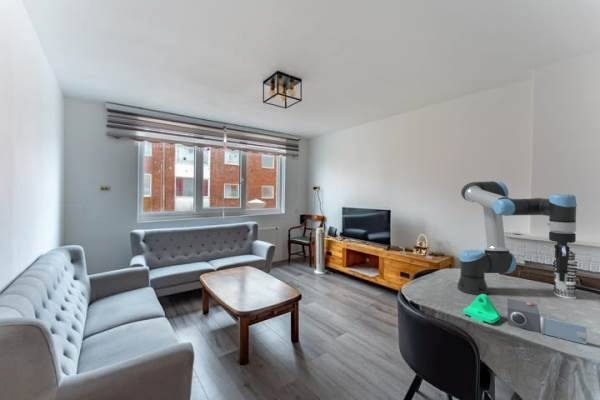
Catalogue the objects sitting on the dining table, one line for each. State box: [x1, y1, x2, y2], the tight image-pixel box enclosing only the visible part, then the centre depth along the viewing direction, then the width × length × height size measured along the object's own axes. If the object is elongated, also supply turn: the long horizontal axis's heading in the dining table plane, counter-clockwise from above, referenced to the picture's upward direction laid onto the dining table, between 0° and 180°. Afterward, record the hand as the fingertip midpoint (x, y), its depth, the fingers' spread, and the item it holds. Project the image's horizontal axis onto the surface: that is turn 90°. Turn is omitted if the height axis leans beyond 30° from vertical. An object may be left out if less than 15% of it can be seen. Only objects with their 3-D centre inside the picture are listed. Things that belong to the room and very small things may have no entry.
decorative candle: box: [552, 250, 578, 300], centre depth 135 cm, size 9×9×25 cm
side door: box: [540, 316, 588, 345], centre depth 96 cm, size 1×12×7 cm, turn 49°
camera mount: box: [462, 294, 501, 324], centre depth 113 cm, size 12×8×10 cm, turn 31°
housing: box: [507, 298, 541, 334], centre depth 108 cm, size 10×13×8 cm
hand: (561, 287), depth 102 cm, fingers closed
